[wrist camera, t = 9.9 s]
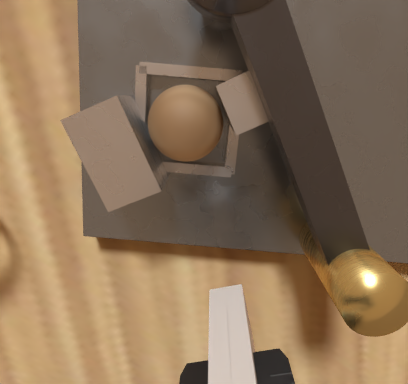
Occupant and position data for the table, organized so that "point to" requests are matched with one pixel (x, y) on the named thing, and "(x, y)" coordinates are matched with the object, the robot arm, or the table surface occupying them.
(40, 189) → the table surface
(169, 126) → the tan wooden ball
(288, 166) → the lever
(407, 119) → the bench plate
